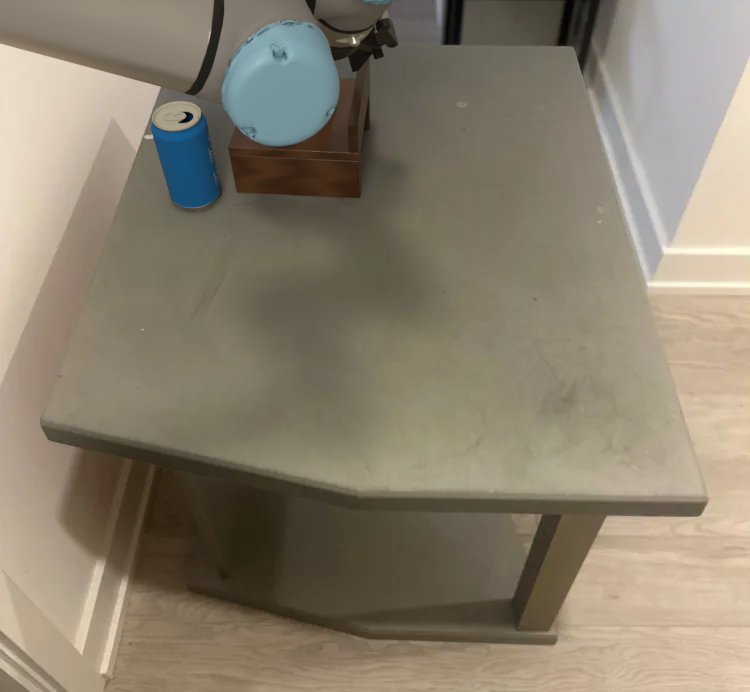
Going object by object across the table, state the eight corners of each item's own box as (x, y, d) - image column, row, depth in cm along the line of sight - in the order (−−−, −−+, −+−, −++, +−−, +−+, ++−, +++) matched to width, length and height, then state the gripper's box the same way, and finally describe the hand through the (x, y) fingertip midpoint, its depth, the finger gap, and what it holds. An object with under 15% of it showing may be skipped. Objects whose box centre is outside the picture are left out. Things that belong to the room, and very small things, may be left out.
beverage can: (217, 213, 93) (198, 132, 84) (166, 211, 93) (142, 131, 84) (225, 179, 97) (209, 99, 88) (177, 178, 97) (155, 98, 88)
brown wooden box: (236, 192, 95) (222, 119, 87) (258, 118, 105) (247, 46, 97) (359, 198, 95) (357, 124, 86) (370, 123, 104) (369, 50, 96)
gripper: (216, 77, 66) (207, 126, 87) (467, 23, 72) (402, 81, 92) (191, -8, 65) (187, 62, 86) (447, -57, 71) (386, 20, 91)
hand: (299, 72), depth 89 cm, fingers open, 13 cm apart
